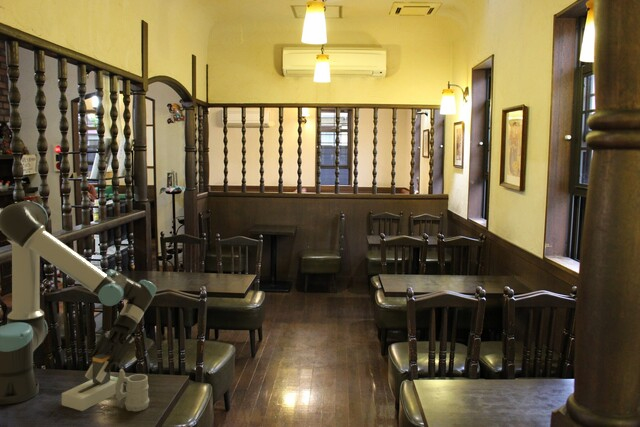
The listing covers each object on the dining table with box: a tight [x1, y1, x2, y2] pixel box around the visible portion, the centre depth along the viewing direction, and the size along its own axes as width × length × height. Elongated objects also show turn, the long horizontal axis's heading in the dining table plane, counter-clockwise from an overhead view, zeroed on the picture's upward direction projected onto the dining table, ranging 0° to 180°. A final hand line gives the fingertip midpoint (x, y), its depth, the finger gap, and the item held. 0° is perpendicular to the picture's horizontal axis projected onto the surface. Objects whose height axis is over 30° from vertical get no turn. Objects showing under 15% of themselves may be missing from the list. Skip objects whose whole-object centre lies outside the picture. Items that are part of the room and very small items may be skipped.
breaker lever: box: [92, 353, 111, 385], centre depth 180 cm, size 4×4×9 cm
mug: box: [114, 368, 150, 412], centre depth 172 cm, size 8×12×12 cm, turn 78°
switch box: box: [61, 375, 124, 412], centre depth 177 cm, size 9×18×4 cm, turn 158°
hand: (93, 379), depth 177 cm, fingers closed on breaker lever, 4 cm apart
